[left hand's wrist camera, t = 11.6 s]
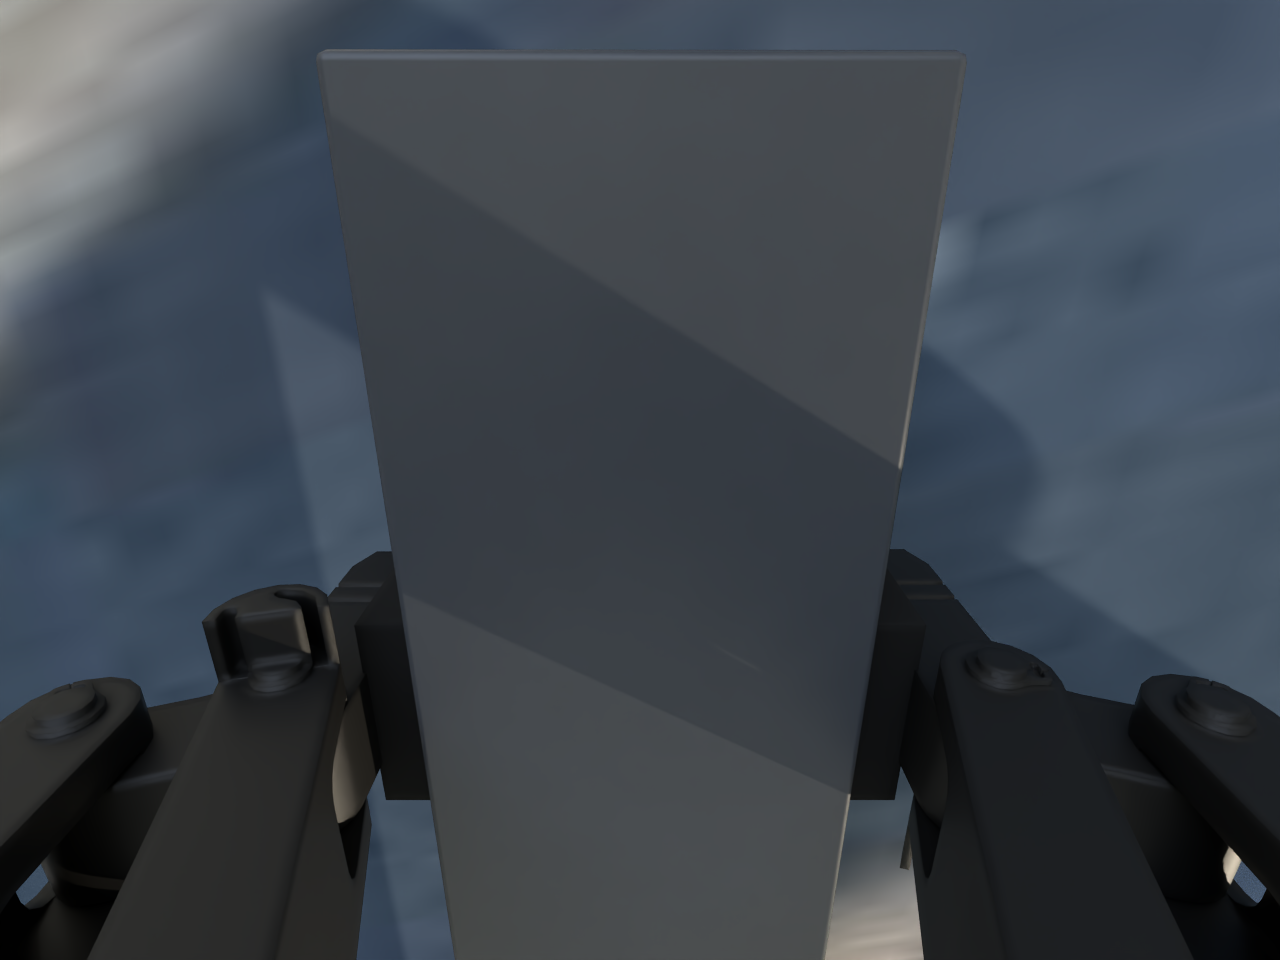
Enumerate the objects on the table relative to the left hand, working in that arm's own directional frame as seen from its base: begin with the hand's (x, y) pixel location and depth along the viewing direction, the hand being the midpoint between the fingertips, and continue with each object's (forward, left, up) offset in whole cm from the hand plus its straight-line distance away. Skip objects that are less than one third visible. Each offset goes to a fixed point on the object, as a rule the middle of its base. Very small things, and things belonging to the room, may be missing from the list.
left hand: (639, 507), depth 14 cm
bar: (+8, +24, -1) cm, 25 cm away
